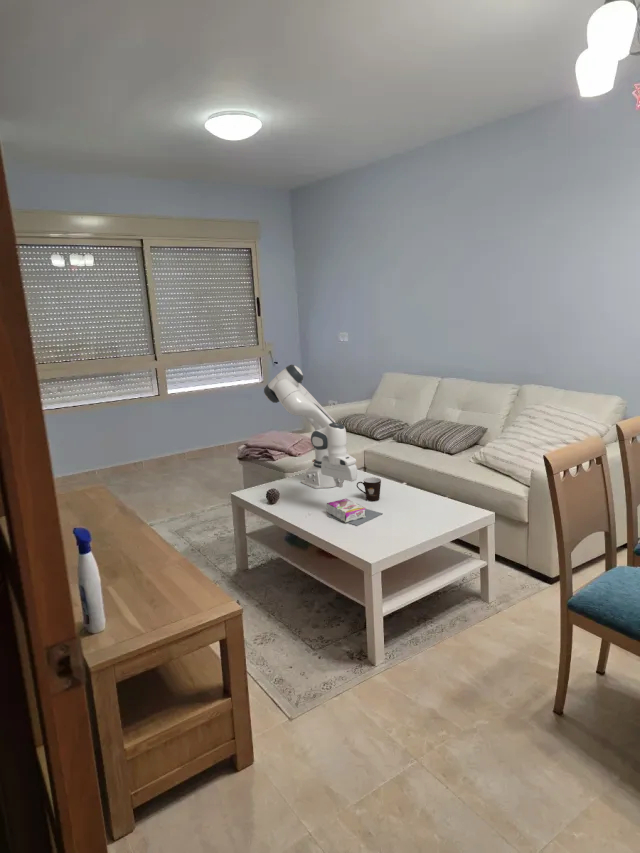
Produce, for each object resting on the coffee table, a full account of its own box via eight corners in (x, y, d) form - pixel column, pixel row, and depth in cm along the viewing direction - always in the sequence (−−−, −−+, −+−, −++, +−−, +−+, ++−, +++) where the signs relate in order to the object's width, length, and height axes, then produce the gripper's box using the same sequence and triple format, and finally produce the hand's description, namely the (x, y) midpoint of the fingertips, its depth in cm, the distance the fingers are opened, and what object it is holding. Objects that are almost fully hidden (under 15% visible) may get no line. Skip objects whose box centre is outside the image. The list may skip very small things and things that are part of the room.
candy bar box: (346, 497, 269) (366, 507, 256) (346, 507, 270) (366, 517, 257) (326, 502, 264) (345, 512, 250) (326, 512, 265) (345, 523, 251)
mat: (327, 516, 261) (327, 516, 261) (353, 505, 273) (353, 505, 273) (357, 526, 248) (356, 525, 248) (382, 514, 261) (382, 513, 261)
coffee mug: (385, 498, 281) (384, 479, 279) (374, 503, 275) (373, 483, 273) (366, 494, 289) (366, 475, 287) (355, 498, 283) (355, 479, 281)
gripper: (317, 456, 267) (318, 484, 269) (349, 463, 252) (350, 492, 255) (326, 453, 271) (327, 481, 274) (358, 460, 257) (360, 489, 259)
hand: (339, 486), depth 264 cm, fingers closed
